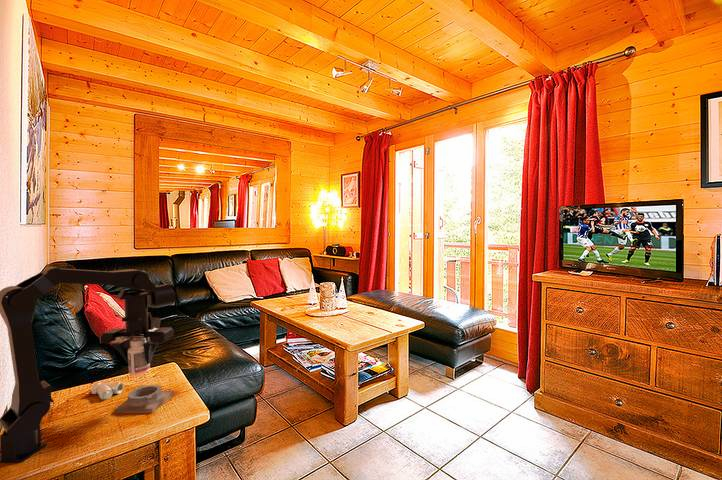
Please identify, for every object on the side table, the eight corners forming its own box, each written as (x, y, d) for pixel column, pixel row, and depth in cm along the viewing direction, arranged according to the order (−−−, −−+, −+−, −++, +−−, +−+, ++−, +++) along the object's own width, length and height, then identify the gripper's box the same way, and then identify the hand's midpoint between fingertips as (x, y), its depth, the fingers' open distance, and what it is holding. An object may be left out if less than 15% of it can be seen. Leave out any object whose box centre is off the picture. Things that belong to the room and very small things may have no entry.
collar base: (152, 412, 99) (152, 400, 99) (114, 413, 99) (114, 400, 99) (173, 394, 110) (173, 383, 110) (139, 394, 110) (138, 383, 110)
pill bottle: (154, 367, 105) (152, 336, 105) (143, 375, 100) (141, 342, 99) (136, 368, 105) (134, 336, 105) (124, 376, 100) (122, 343, 99)
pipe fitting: (109, 402, 107) (124, 390, 113) (108, 390, 106) (123, 379, 113) (83, 403, 106) (99, 391, 113) (82, 391, 106) (98, 379, 113)
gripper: (182, 304, 109) (184, 352, 110) (124, 305, 110) (126, 353, 110) (161, 313, 98) (164, 367, 99) (97, 315, 99) (100, 368, 99)
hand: (139, 363), depth 102 cm, fingers closed on pill bottle, 5 cm apart
